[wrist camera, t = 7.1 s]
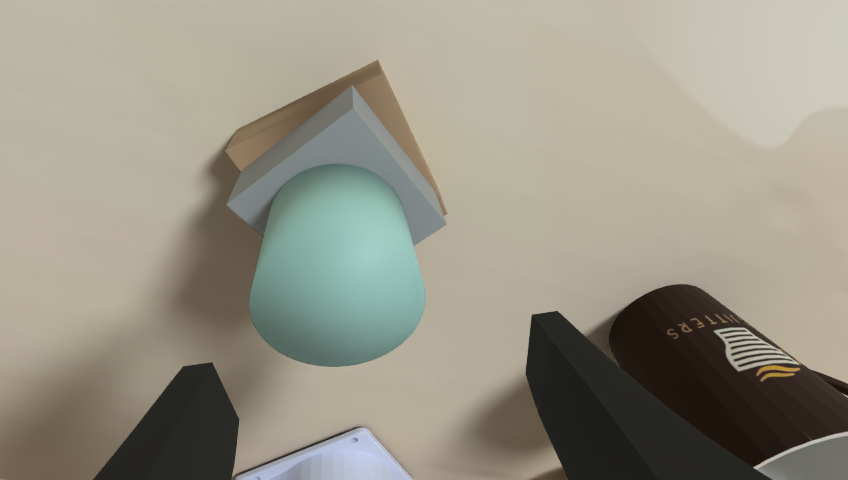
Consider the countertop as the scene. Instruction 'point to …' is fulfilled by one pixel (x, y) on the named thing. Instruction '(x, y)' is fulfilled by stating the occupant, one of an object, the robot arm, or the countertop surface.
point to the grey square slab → (338, 144)
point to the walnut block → (283, 121)
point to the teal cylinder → (336, 269)
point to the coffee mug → (734, 384)
